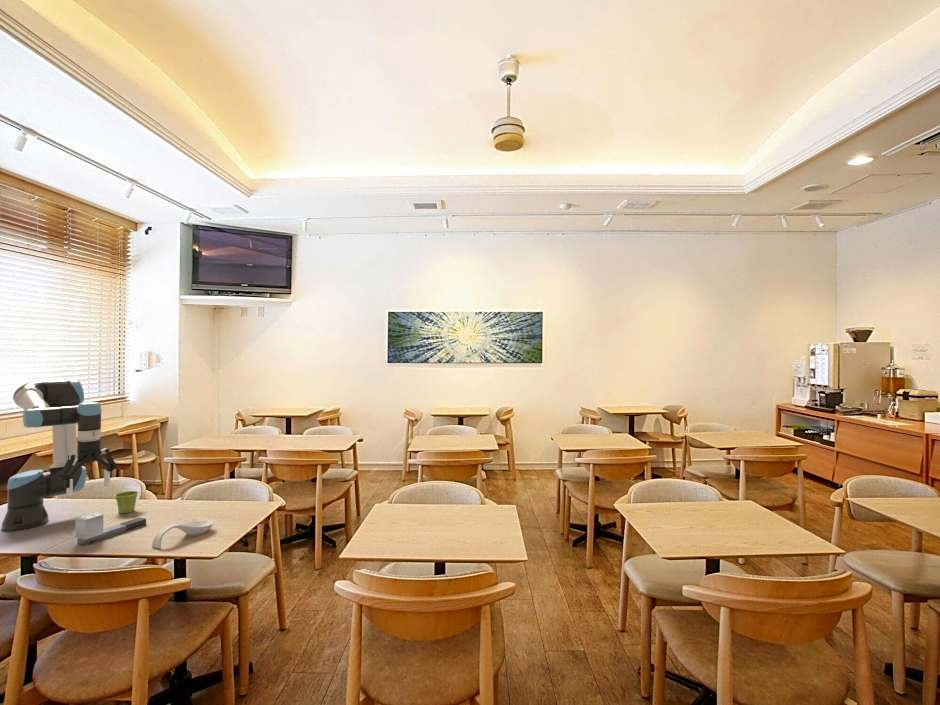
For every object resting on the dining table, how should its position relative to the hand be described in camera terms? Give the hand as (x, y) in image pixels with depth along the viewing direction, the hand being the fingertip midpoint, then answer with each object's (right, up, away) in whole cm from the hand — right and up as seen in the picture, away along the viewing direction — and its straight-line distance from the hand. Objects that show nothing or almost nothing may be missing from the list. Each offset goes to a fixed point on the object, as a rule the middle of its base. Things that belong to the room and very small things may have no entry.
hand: (88, 490), depth 191 cm
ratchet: (+6, -20, +5) cm, 22 cm away
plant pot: (-9, -20, +33) cm, 39 cm away
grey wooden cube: (+3, -17, -3) cm, 18 cm away
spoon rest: (+39, -20, +1) cm, 44 cm away
